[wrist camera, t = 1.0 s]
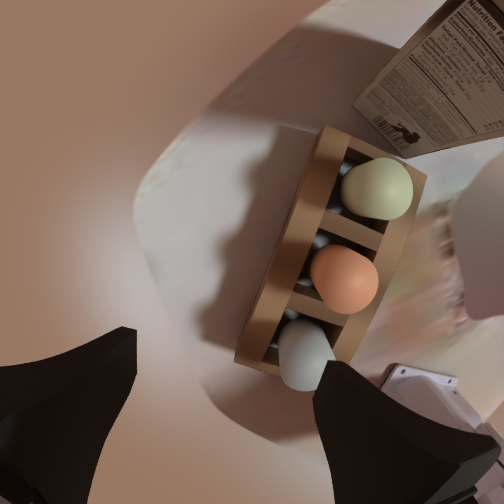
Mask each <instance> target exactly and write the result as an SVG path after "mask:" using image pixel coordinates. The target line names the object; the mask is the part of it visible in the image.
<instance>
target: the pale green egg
mask: <svg viewBox="0 0 504 504" xmlns="http://www.w3.org/2000/svg"><path fill="white" fill-rule="evenodd" d="M339 192H340V198H341V201H342V203H343V204H344V206H345V207H346V208H347V210H349V211H350V212H351V213H353V214H355V215H357V216H362V217H369V218H376V219H382V220H392V219H396V218H398V217H400V216H402V215H403V214H404V213H405V212H406V211H407V209H408V208H409V206H410V204H411V201H412V197H413V185H412V181H411V178H410V176H409V174H408V172H407V170H406V169H405V168H404V167H403V166H402V165H401V164H400V163H399V162H397V161H395V160H393V159H390V158H377V159H374V160H372V161H369V162H367V163H364V164H361V165H359V166H356V167H354V168H352V169H350V170H348V171H347V172H346V173H345V174H344V176H343V177H342V179H341V182H340V187H339Z"/></svg>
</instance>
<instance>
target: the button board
mask: <svg viewBox="0 0 504 504" xmlns="http://www.w3.org/2000/svg"><path fill="white" fill-rule="evenodd" d="M344 157H347V158H349V159H351V160H353V161H355V162H357V163H360V164H364V163H367V162H369V161H372V160H374V159H377V158H390V159H393V160H395V161H397V162H399V163H400V164H401V165H402V166H403V167H404V168H405V169H406V170H407V172H408V174H409V176H410V178H411V181H412V185H413V197H412V201H411V204H410V206H409V208H408V209H407V211H406V212H405V213H404V214H403V215H402V216H400V217H398V218H396V219H392V220H382V219H376V218H374V220H373V223H372V226H371V228H368V227H365V226H363V225H361V224H359V223H356V222H354V221H352V220H349V219H347V218H345V217H342V216H340V215H338V214H335V213H333V212H331V211H328V210H326V209H325V208H326V206H327V203H328V200H329V198H330V195H331V192H332V189H333V187H334V184H335V181H336V178H337V176H338V173H339V170H340V167H341V164H342V161H343V158H344ZM426 179H427V175H425V174H424V173H422V172H420V171H419V170H417V169H415V168H413V167H412V166H410V165H408V164H406V163H405V162H403V161H401V160H399V159H397V158H395V157H394V156H392V155H390V154H388V153H386V152H384V151H382V150H380V149H378V148H376V147H374V146H372V145H370V144H368V143H366V142H364V141H362V140H360V139H358V138H356V137H353V136H351V135H349V134H347V133H345V132H342V131H340V130H338V129H336V128H333V127H331V126H329V125H325V126H324V127H323V128H322V130H321V131H320V132H319V133H318V135H317V138H316V141H315V144H314V146H313V149H312V152H311V155H310V157H309V160H308V163H307V165H306V168H305V171H304V174H303V176H302V179H301V182H300V184H299V187H298V190H297V192H296V195H295V198H294V200H293V203H292V206H291V208H290V211H289V214H288V216H287V219H286V221H285V224H284V227H283V229H282V232H281V235H280V237H279V240H278V242H277V245H276V248H275V250H274V253H273V255H272V258H271V260H270V263H269V266H268V268H267V271H266V273H265V276H264V278H263V281H262V283H261V286H260V288H259V291H258V293H257V296H256V298H255V301H254V303H253V306H252V308H251V311H250V313H249V316H248V318H247V321H246V323H245V326H244V328H243V331H242V333H241V336H240V338H239V341H238V343H237V347H236V352H235V357H234V362H235V363H238V364H241V365H244V366H247V367H250V368H253V369H256V370H259V371H263V372H266V373H269V374H272V375H276V376H279V377H281V374H280V363H279V352H278V349H277V348H274V347H271V346H269V344H270V341H271V339H272V337H273V335H274V333H275V330H276V328H277V326H278V324H279V321H280V319H281V317H282V314H283V312H284V310H285V308H288V309H291V310H294V311H297V312H300V313H303V314H306V315H309V316H312V317H315V318H318V319H321V320H324V321H327V322H330V324H329V326H328V328H327V330H326V332H325V336H326V338H327V341H328V343H329V345H330V347H331V350H332V352H333V354H334V356H335V359H336V360H337V361H343V362H345V363H346V364H347V365H349V363H350V361H351V359H352V357H353V356H354V354H355V352H356V350H357V348H358V346H359V345H360V343H361V341H362V339H363V337H364V335H365V333H366V331H367V329H368V327H369V325H370V323H371V321H372V319H373V317H374V315H375V313H376V311H377V309H378V307H379V305H380V303H381V300H382V298H383V296H384V294H385V292H386V289H387V287H388V285H389V282H390V280H391V278H392V276H393V273H394V271H395V268H396V266H397V263H398V261H399V258H400V256H401V253H402V251H403V248H404V246H405V243H406V240H407V238H408V235H409V232H410V229H411V226H412V223H413V221H414V218H415V215H416V212H417V209H418V205H419V202H420V199H421V196H422V193H423V189H424V186H425V182H426ZM318 227H319V228H322V229H324V230H327V231H329V232H332V233H334V234H337V235H339V236H341V237H344V238H346V239H349V240H351V241H353V242H356V243H358V244H360V245H363V246H364V247H363V249H362V252H361V254H360V255H362V256H364V257H366V258H367V259H369V260H370V261H371V262H372V263H373V265H374V266H375V268H376V270H377V273H378V289H377V292H376V295H375V296H374V298H373V300H372V301H371V302H370V303H369V305H367V306H366V307H365V308H364V309H362V310H360V311H358V312H356V313H352V314H341V313H337V312H335V311H333V310H331V309H330V308H329V307H328V306H327V305H326V304H325V303H324V301H323V299H322V298H321V296H320V294H319V293H318V291H317V290H315V289H312V288H310V287H307V286H304V285H301V284H298V283H296V282H297V279H298V277H299V274H300V272H301V270H302V267H303V265H304V262H305V260H306V257H307V255H308V252H309V250H310V247H311V245H312V242H313V240H314V237H315V235H316V232H317V229H318Z"/></svg>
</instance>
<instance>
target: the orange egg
mask: <svg viewBox="0 0 504 504" xmlns="http://www.w3.org/2000/svg"><path fill="white" fill-rule="evenodd" d="M309 275H310V279H311V281H312V283H313V284H314V286H315V288H316V289H317V291H318V293H319V294H320V296H321V298H322V299H323V301H324V303H325V304H326V305H327V306H328V307H329V308H330V309H331V310H333V311H335V312H337V313H341V314H352V313H356V312H358V311H360V310H362V309H364V308H365V307H366V306H367V305H369V303H370V302H371V301H372V300H373V298H374V296H375V295H376V292H377V289H378V273H377V270H376V268H375V266H374V265H373V263H372V262H371V261H370V260H369V259H367V258H366V257H364V256H362V255H360V254H359V253H357V252H355V251H353V250H351V249H349V248H347V247H346V246H344V245H341V244H328V245H325V246H323V247H321V248H320V249H318V250H317V251H316V252H315V254H314V255H313V257H312V258H311V261H310V264H309Z"/></svg>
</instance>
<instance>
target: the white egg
mask: <svg viewBox="0 0 504 504" xmlns="http://www.w3.org/2000/svg"><path fill="white" fill-rule="evenodd" d="M278 352H279V363H280V374H281V378H282V380H283V381H284V383H285V384H286V385H287V386H288V387H290V388H292V389H294V390H297V391H313V390H316V389H317V386H318V384H319V381H320V379H321V376H322V374H323V371H324V368H325V366H326V363H327V360H336V359H335V356H334V354H333V352H332V350H331V347H330V345H329V343H328V341H327V338H326V336H325V334H324V332H323V329H322V328H321V326H320V325H319V324H318V323H316V322H315V321H313V320H310V319H296V320H293V321H291V322H289V323H287V324H286V325H285V326H284V327H283V328H282V329H281V331H280V333H279V335H278Z"/></svg>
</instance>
